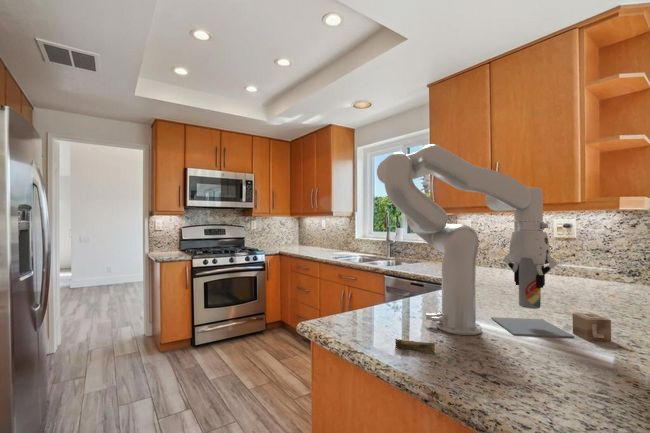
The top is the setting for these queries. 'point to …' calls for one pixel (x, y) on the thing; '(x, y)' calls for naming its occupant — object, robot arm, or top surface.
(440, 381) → the top surface
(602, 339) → the letter cube
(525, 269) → the lotion bottle
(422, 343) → the snack bar
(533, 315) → the top surface
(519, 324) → the grey mat
